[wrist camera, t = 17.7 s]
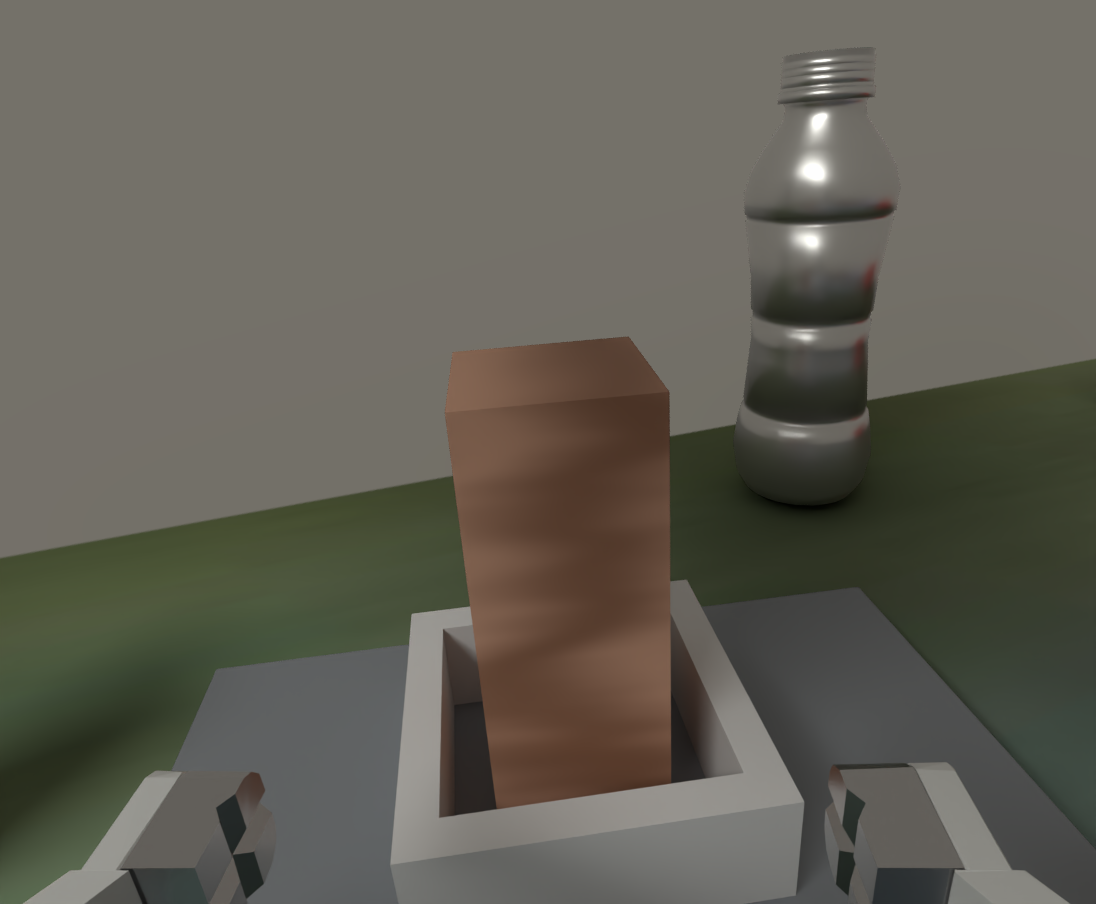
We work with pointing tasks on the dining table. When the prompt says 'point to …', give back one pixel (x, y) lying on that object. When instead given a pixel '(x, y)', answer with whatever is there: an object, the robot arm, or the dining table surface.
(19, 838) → the dining table surface
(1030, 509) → the dining table surface
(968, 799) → the robot arm
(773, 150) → the plastic bottle
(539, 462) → the terracotta peg
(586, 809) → the collar board
